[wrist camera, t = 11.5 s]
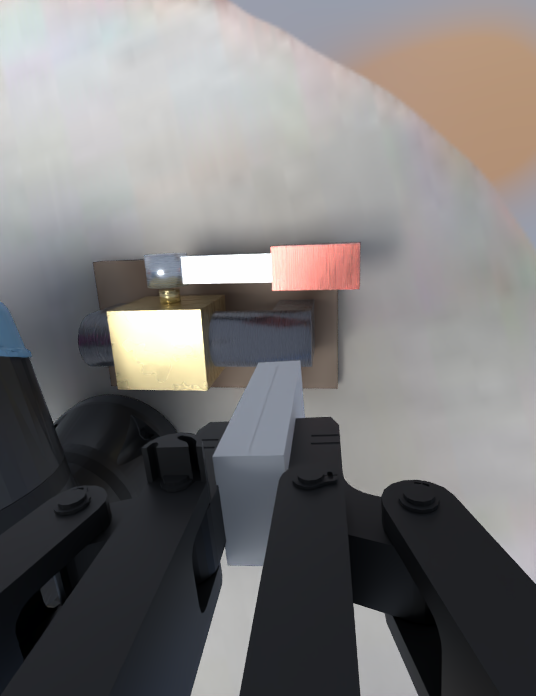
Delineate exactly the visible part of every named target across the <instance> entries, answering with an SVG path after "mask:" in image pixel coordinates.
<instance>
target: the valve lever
mask: <svg viewBox="0 0 536 696" xmlns="http://www.w3.org/2000/svg"><path fill="white" fill-rule="evenodd" d="M360 244H361V242H351V243H325V244H298V245H277V246H272V247H271V253H252V254H223V255H193V256H187V253H163V254H149V255H144V261H145V269H146V278H147V286H148V288H155V289H160V288H176V287H183V286H188V285H190V284H199V283H254V282H272V290H344V289H359V288H360Z"/></svg>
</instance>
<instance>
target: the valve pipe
mask: <svg viewBox="0 0 536 696" xmlns="http://www.w3.org/2000/svg"><path fill="white" fill-rule="evenodd" d="M78 344H79V350H80V354H81V356H82V358H83V360H84V361H85V362H86V363H87V364H88V365H90V366H115V372H116V379H117V386H118V390H200V391H208V389H209V388H210V387H211V385H212V384H213V383H214V381H215V380H216V379H217V378H218V376H219V375H220V374H221V372H222V371H223V370H224V368H225V367H257V365H258V363H261V362H280V361H299V360H300V362H301V367H312V365H313V358H314V351H315V324H314V299H305V300H279V302H278V303H277V304H276V306H275V307H274V308H273V310H253V311H226V305H225V295H187V296H180V289H179V288H168V289H161V290H159V296H147V297H144V298H141V299H139V300H136V301H133V302H131V303H119V304H116V305H113V306H110V307H107V308H105V309H102V310H99V311H96V312H93V313H90V314H88V315H87V316H86V317H85V318H84V319H83V321H82V323H81V325H80V328H79V334H78Z"/></svg>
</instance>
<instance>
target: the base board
mask: <svg viewBox="0 0 536 696" xmlns="http://www.w3.org/2000/svg"><path fill="white" fill-rule="evenodd" d="M93 267H94V273H95V280H96V286H97V293H98V300H99V306H100V310H102V309H105V308H107V307H110V306H113V305H116V304H119V303H131V302H133V301H136V300H139V299H141V298H144V297H147V296H159V290H161V289H168V288H160V289H155V288H148V286H147V278H146V269H145V261H144V260H121V261H100V262H93ZM176 288H179V289H180V296H187V295H225V305H226V311H253V310H273V308H274V307H275V306H276V304H277V303H278V302H279V300H305V299H314V324H315V351H314V358H313V365H312V367H301V375H302V388H331V389H338V290H272V282H254V283H199V284H190V285H188V286H183V287H176ZM255 369H256V367H225V368H224V370H223V371H222V372H221V374H220V375H219V376H218V378H217V379H216V380H215V381H214V383H213V384H212V385H211V387H237V388H246V387H247V385H248V383H249V381H250V379H251V377H252V375H253V373H254V371H255ZM109 372H110V379H111V386H117V379H116V372H115V366H109Z"/></svg>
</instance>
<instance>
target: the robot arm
mask: <svg viewBox="0 0 536 696" xmlns="http://www.w3.org/2000/svg"><path fill="white" fill-rule="evenodd" d="M29 357H32V355H31V352H30V350H28V349H26V348H25V346H24V343H23V341H22V339H21V337H20V334H19V332H18V330H17V327H16V325H15V323H14V320H13V318H12V316H11V314H10V312H9V310H8V308H7V307H6V306H5V305H4V304H3V303H2V302H1V301H0V696H190V695H191V692H192V688H193V684H194V681H195V677H196V674H197V670H198V667H199V663H200V660H201V656H202V653H203V649H204V646H205V642H206V639H207V635H208V632H209V628H210V624H211V621H212V617H213V614H214V610H215V607H216V603H217V600H218V596H219V593H220V589H221V586H222V570H221V563H220V560H221V557H222V554H223V550H224V547H225V549H226V557H227V564H228V565H238V566H263V570H262V575H261V581H260V586H259V591H258V597H257V602H256V608H255V613H254V619H253V624H252V630H251V635H250V641H249V646H248V652H247V657H246V663H245V668H244V673H243V679H242V684H241V690H240V695H239V696H360V685H359V672H358V659H357V646H356V633H355V620H354V607H353V603H355V604H358V605H361V606H364V607H367V608H371V609H374V610H377V611H380V612H383V613H385V617H386V622H387V625H388V627H389V629H390V631H391V634H392V636H393V638H394V641H395V643H396V645H397V647H398V650H399V652H400V654H401V657H402V659H403V661H404V663H405V666H406V668H407V670H408V673H409V675H410V677H411V679H412V682H413V684H414V686H415V689H416V691H417V693H418V695H419V696H536V584H535V583H534V582H533V581H532V580H531V578H530V577H529V576H528V575H527V574H526V573H525V572H524V571H523V570H522V569H521V568H520V567H519V565H518V564H517V563H516V562H515V561H514V560H513V559H512V558H511V557H510V556H509V555H508V553H507V552H506V551H505V550H504V549H503V548H502V547H501V546H500V545H499V544H498V543H497V542H496V540H495V539H494V538H493V537H492V536H491V535H490V534H489V533H488V532H487V531H486V530H485V528H484V527H483V526H482V525H481V524H480V523H479V522H478V521H477V520H476V519H475V518H474V517H473V515H472V514H471V513H470V512H469V511H468V510H467V509H466V508H465V507H464V506H463V505H462V503H461V502H460V501H459V500H458V499H457V498H456V497H455V496H454V495H453V494H452V493H450V492H449V491H448V490H446V489H445V488H444V487H441V486H439V485H436V484H434V483H431V482H427V481H421V480H403V481H400V482H396V483H393V484H391V485H390V486H388V487H387V488H386V489H384V491H383V494H382V496H381V497H379V496H374V495H370V494H366V493H363V492H361V491H358V490H356V489H354V488H353V487H352V486H350V485H349V484H348V483H347V482H346V481H345V479H344V476H343V471H342V459H341V446H340V434H339V425H338V424H337V423H336V422H335V421H334V420H333V419H332V418H331V417H316V418H305V414H304V401H303V388H302V375H301V362H300V360H299V361H280V362H261V363H258V365H257V367H256V369H255V371H254V373H253V375H252V377H251V379H250V381H249V383H248V385H247V387H246V389H245V391H244V393H243V395H242V397H241V399H240V401H239V403H238V405H237V407H236V410H235V412H234V414H233V416H232V418H231V420H230V422H210V423H209V424H207V425H206V426H204V427H203V428H201V429H200V430H199V431H198V432H197V434H196V435H194V434H191V433H177V432H176V430H175V429H174V428H173V426H172V425H171V424H170V423H169V422H168V421H167V419H166V418H165V417H163V416H162V415H161V414H160V413H159V412H157V411H156V410H155V409H153V408H152V407H150V406H148V405H147V404H145V403H143V402H140V401H138V400H135V399H133V398H129V397H125V396H119V395H100V396H95V397H91V398H89V399H86V400H84V401H82V402H80V403H78V404H77V405H75V406H74V407H73V408H71V409H70V410H68V411H67V412H65V413H64V414H63V415H62V416H61V417H60V418H59V419H58V420H57V421H56V422H55V423H54V424H53V421H52V418H51V416H50V413H49V410H48V408H47V405H46V402H45V399H44V397H43V394H42V391H41V388H40V386H39V383H38V380H37V378H36V375H35V372H34V369H33V367H32V364H31V361H30V358H29Z"/></svg>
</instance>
